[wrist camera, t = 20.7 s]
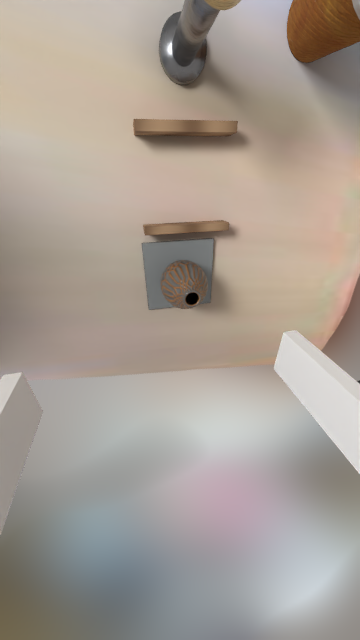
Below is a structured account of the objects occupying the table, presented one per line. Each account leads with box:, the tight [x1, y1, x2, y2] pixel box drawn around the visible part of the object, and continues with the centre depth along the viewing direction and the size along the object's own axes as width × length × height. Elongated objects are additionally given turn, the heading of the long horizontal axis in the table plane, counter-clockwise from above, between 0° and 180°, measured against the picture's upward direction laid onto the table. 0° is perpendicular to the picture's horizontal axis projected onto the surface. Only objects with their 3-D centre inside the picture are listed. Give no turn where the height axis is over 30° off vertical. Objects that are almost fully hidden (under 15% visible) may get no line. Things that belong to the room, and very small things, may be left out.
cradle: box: [133, 119, 238, 235], centre depth 29 cm, size 12×12×2 cm
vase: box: [161, 260, 208, 309], centre depth 33 cm, size 7×7×9 cm
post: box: [159, 0, 220, 85], centre depth 19 cm, size 5×5×12 cm
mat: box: [142, 238, 214, 310], centre depth 37 cm, size 11×11×1 cm
